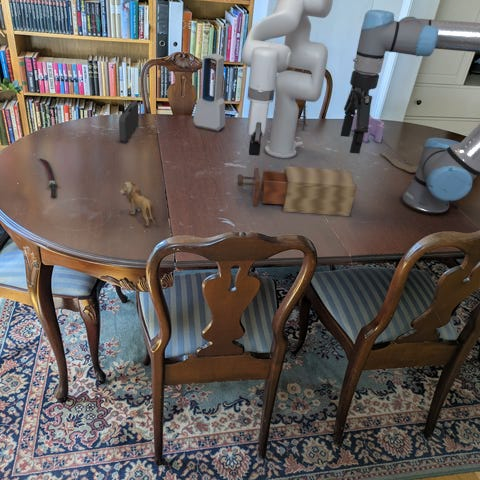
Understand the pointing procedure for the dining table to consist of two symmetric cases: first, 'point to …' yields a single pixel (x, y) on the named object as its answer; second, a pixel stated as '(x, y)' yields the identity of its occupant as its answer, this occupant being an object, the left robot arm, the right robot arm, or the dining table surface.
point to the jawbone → (401, 164)
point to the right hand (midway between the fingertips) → (349, 144)
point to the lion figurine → (137, 201)
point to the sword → (52, 181)
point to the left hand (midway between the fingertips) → (253, 154)
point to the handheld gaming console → (128, 121)
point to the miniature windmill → (302, 105)
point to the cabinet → (319, 191)
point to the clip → (371, 129)
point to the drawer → (267, 186)
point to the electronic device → (207, 106)
